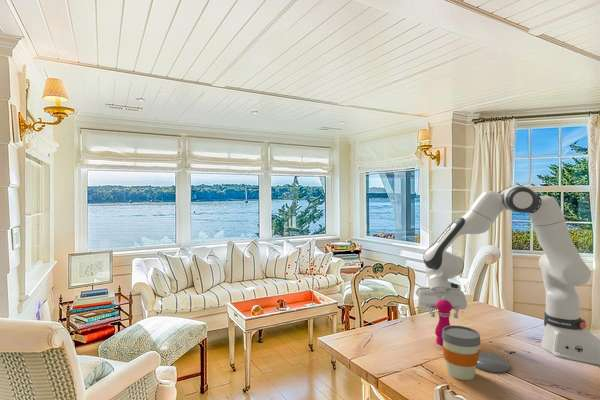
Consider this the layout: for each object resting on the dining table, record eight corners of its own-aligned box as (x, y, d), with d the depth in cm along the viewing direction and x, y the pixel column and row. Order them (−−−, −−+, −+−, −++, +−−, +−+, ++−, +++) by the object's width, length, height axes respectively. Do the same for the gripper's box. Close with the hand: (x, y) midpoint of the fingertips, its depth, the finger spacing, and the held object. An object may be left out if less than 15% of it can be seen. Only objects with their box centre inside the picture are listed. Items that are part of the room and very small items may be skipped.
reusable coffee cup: (435, 373, 126) (435, 331, 126) (450, 361, 135) (450, 322, 135) (472, 387, 117) (472, 342, 117) (485, 373, 126) (485, 331, 126)
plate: (513, 362, 134) (513, 359, 134) (504, 377, 124) (504, 373, 124) (473, 351, 143) (473, 348, 143) (462, 364, 133) (462, 360, 133)
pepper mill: (454, 347, 147) (455, 299, 147) (436, 345, 149) (436, 298, 148) (451, 340, 154) (451, 294, 154) (433, 338, 156) (433, 293, 155)
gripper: (416, 283, 159) (420, 312, 150) (464, 285, 156) (471, 314, 147) (414, 290, 164) (418, 319, 154) (461, 292, 161) (467, 321, 151)
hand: (444, 317), depth 151 cm, fingers open, 8 cm apart
